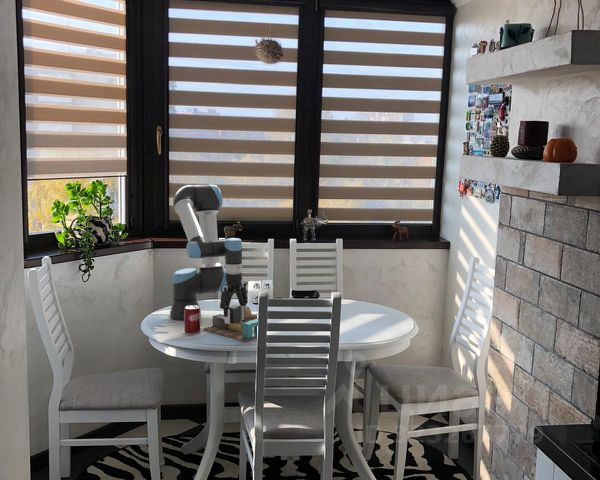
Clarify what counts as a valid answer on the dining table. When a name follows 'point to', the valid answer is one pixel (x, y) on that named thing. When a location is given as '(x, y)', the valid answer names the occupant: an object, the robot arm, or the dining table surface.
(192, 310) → the soda can
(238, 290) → the robot arm
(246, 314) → the pipe
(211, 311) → the dining table surface
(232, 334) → the base board
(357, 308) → the dining table surface
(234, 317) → the square head mallet
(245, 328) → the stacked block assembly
